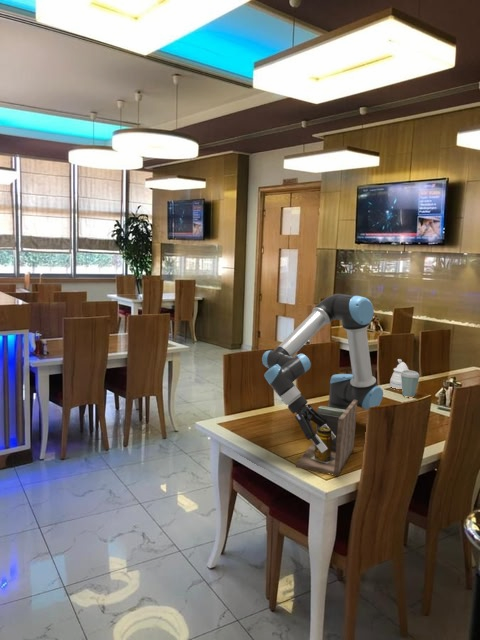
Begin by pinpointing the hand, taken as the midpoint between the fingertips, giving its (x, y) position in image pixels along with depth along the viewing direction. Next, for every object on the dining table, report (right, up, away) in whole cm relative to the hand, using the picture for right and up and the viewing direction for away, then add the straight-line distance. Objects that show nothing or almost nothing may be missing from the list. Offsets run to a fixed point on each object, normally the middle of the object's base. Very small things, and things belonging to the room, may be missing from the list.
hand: (329, 444), depth 190 cm
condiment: (-2, -6, +3) cm, 7 cm away
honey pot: (+66, +5, +121) cm, 138 cm away
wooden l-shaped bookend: (0, -7, +6) cm, 9 cm away
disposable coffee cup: (+65, +2, +102) cm, 121 cm away
